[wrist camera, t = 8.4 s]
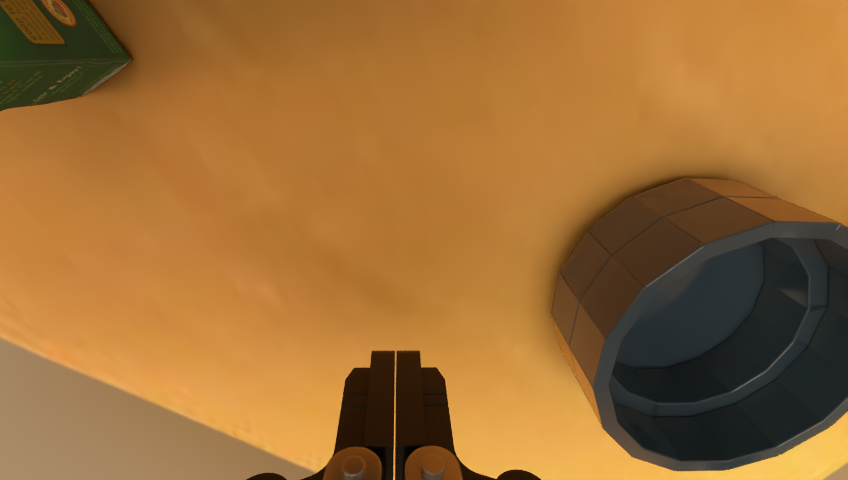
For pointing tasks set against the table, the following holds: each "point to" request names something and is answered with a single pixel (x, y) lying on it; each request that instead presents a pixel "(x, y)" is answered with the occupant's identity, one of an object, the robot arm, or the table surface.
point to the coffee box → (53, 51)
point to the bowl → (708, 323)
